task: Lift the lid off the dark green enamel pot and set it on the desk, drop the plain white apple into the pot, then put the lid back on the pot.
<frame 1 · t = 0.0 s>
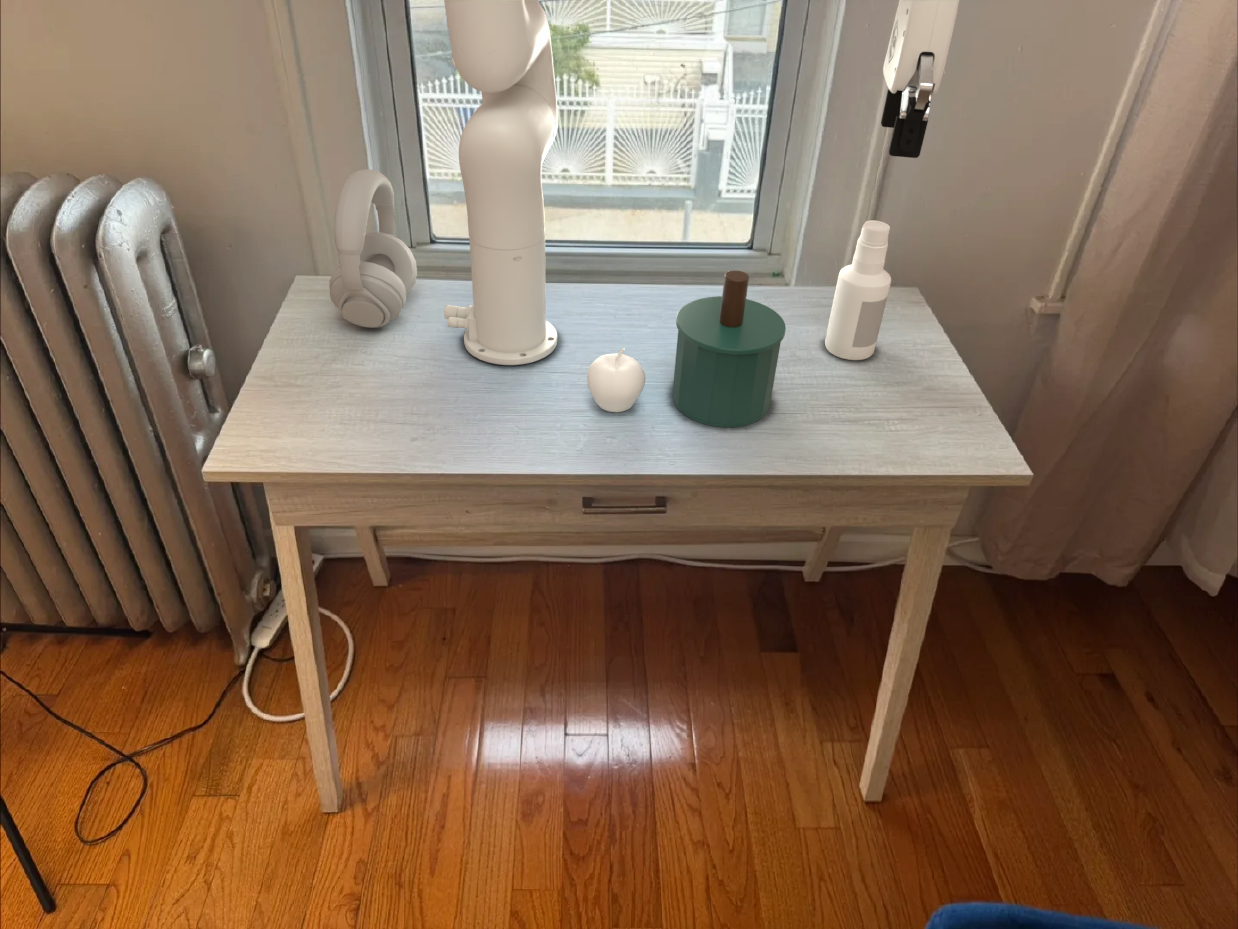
hand: (898, 140, 102), 31 cm above the table, tool pointing down, fingers open, 9 cm apart
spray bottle: (848, 349, 128), on the table
headphones: (379, 314, 130), on the table
pot: (720, 399, 116), on the table
lid: (730, 326, 110), point 10 cm above the table, touching pot
plain white apple: (614, 405, 115), on the table
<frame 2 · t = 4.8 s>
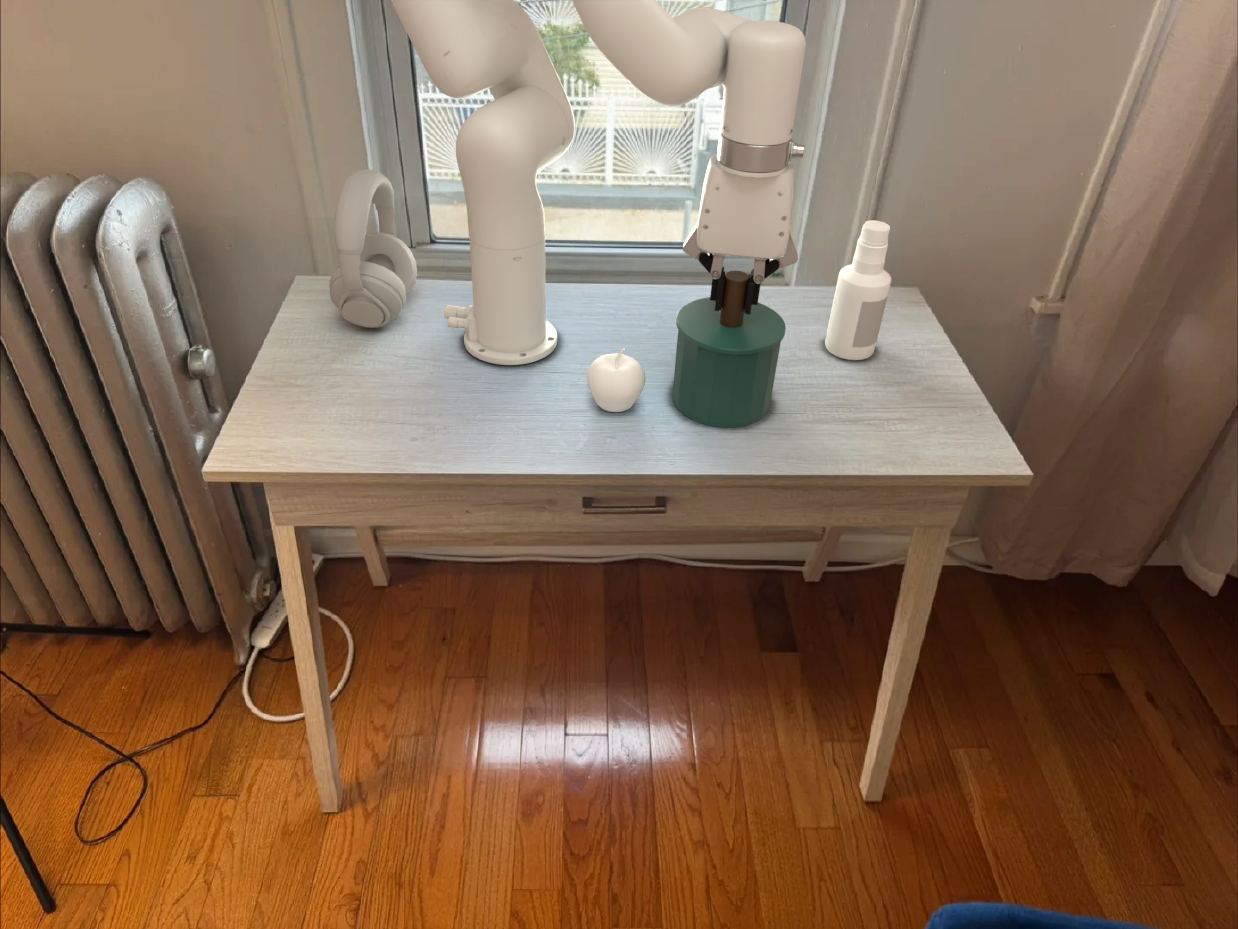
hand: (732, 306, 108), 13 cm above the table, tool pointing down, fingers closed on lid, 2 cm apart
lid: (730, 326, 110), point 11 cm above the table, touching gripper, pot
everything else where it was.
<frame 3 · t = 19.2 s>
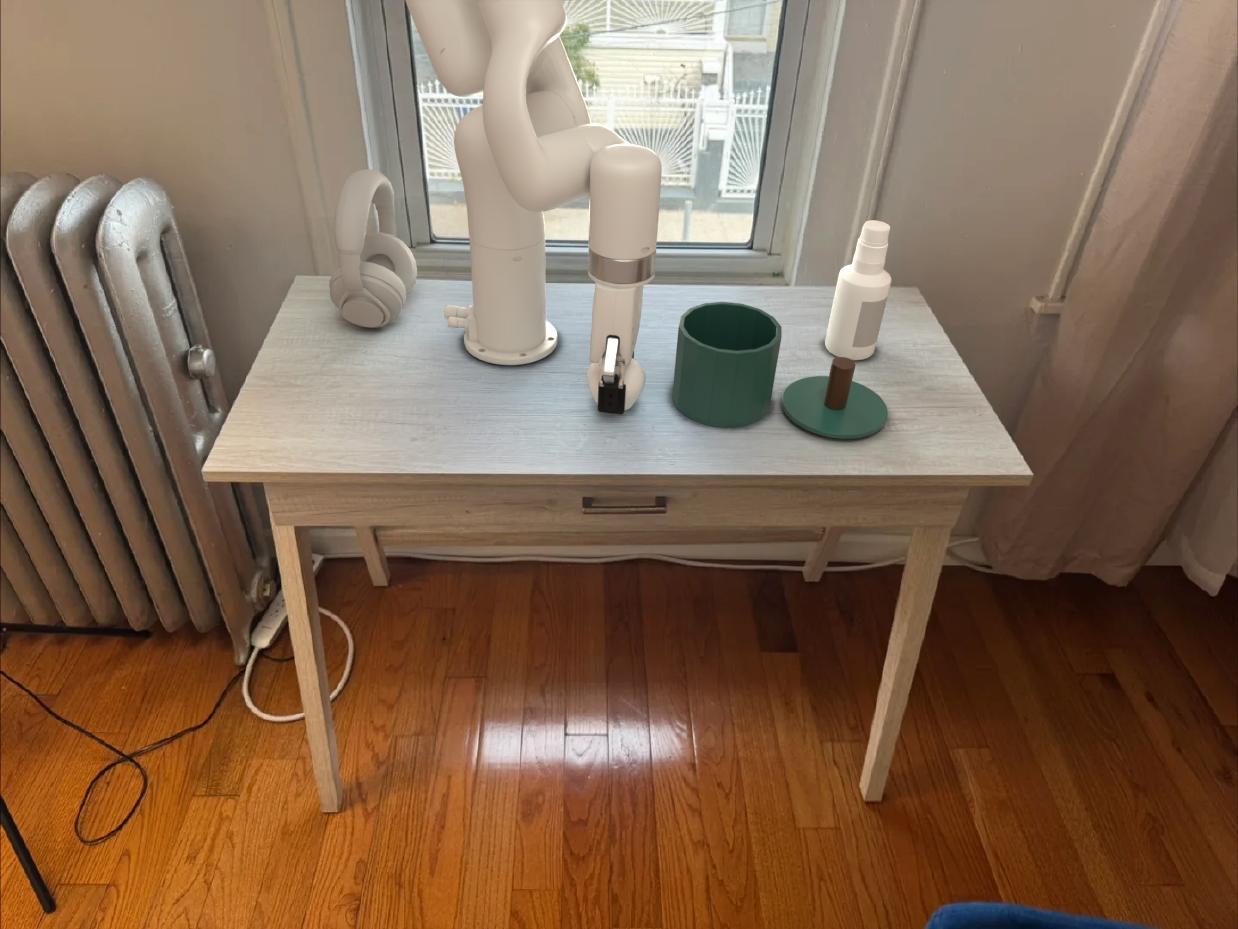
hand: (615, 393, 114), 2 cm above the table, tool pointing down, fingers closed on plain white apple, 7 cm apart
lid: (833, 408, 115), point 1 cm above the table
plain white apple: (614, 405, 115), on the table, touching gripper
everything else where it was.
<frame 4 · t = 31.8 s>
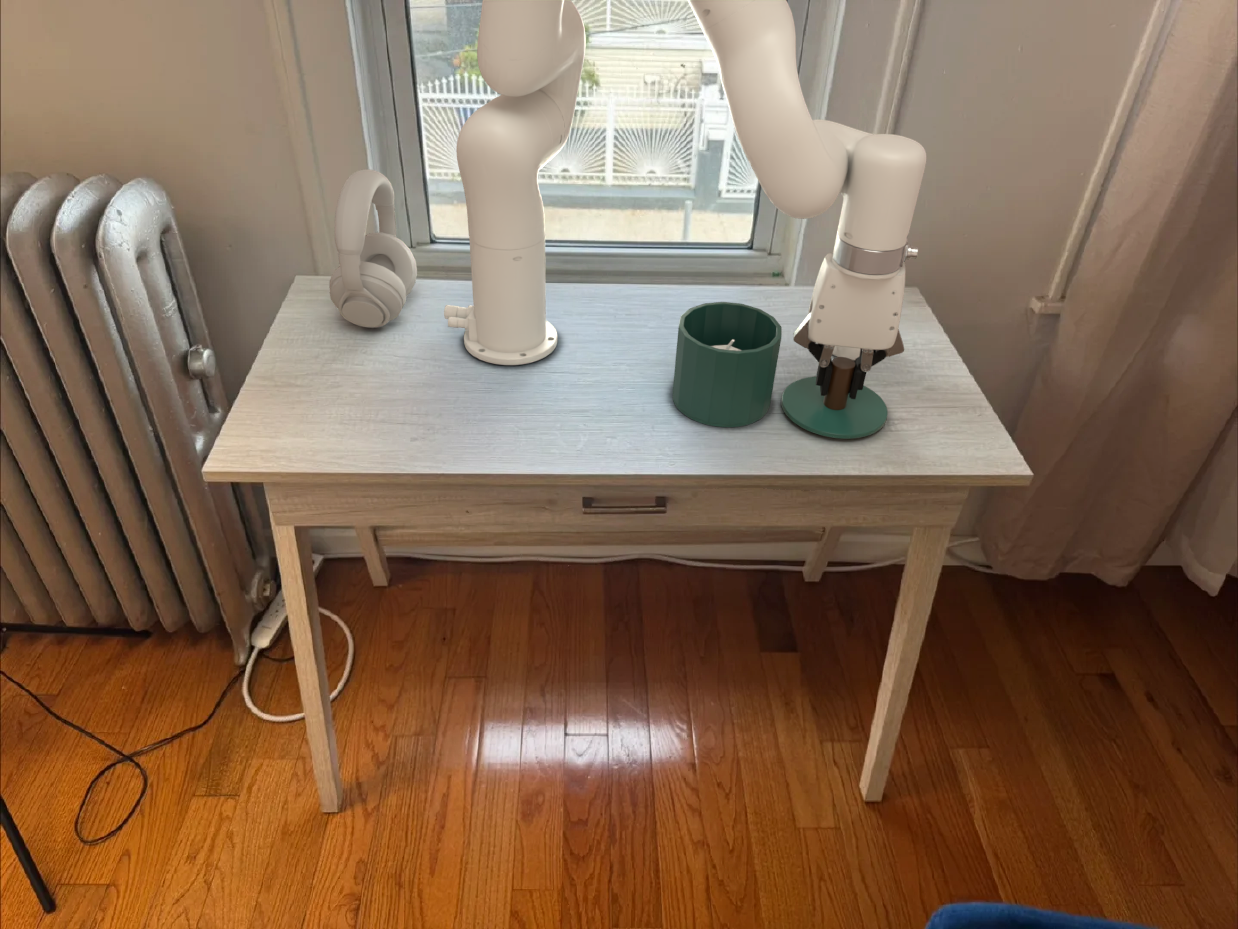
hand: (837, 390, 113), 3 cm above the table, tool pointing down, fingers closed on lid, 2 cm apart
lid: (833, 407, 115), point 1 cm above the table, touching gripper
plain white apple: (720, 396, 116), resting on pot
everything else where it was.
when the fingers open (13 cm above the table, at t = 38.4 s): lid stays where it is, resting on pot.
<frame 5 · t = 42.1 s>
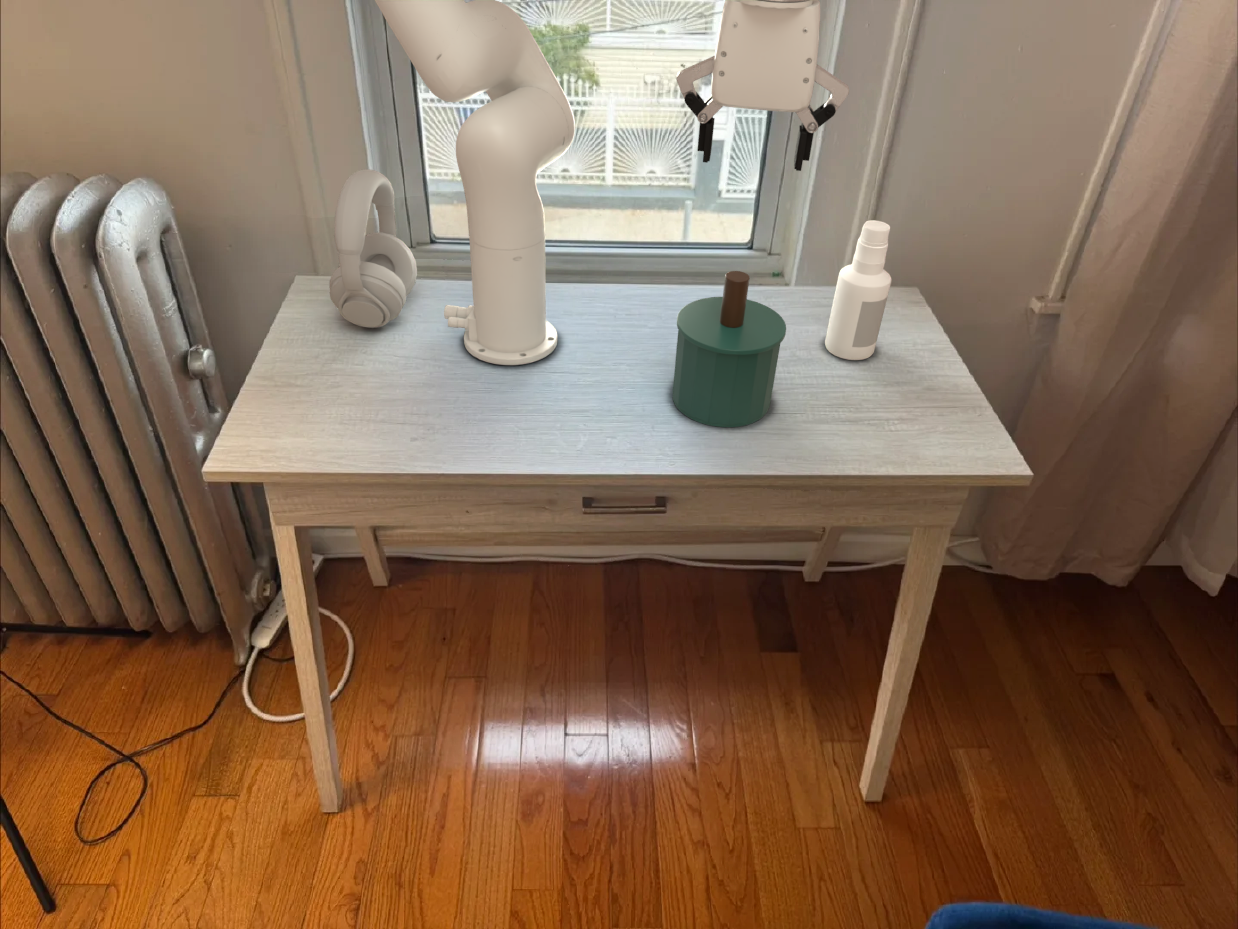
hand: (751, 162, 98), 30 cm above the table, tool pointing down, fingers open, 9 cm apart
lid: (730, 326, 110), point 10 cm above the table, touching pot
everything else where it was.
at the end: plain white apple 0.2 cm off-centre in the pot, point 0.3 cm above the pot's base; lid 0.1 cm off-centre on the pot, point 10.5 cm above the pot's base; lid tilted 0° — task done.
